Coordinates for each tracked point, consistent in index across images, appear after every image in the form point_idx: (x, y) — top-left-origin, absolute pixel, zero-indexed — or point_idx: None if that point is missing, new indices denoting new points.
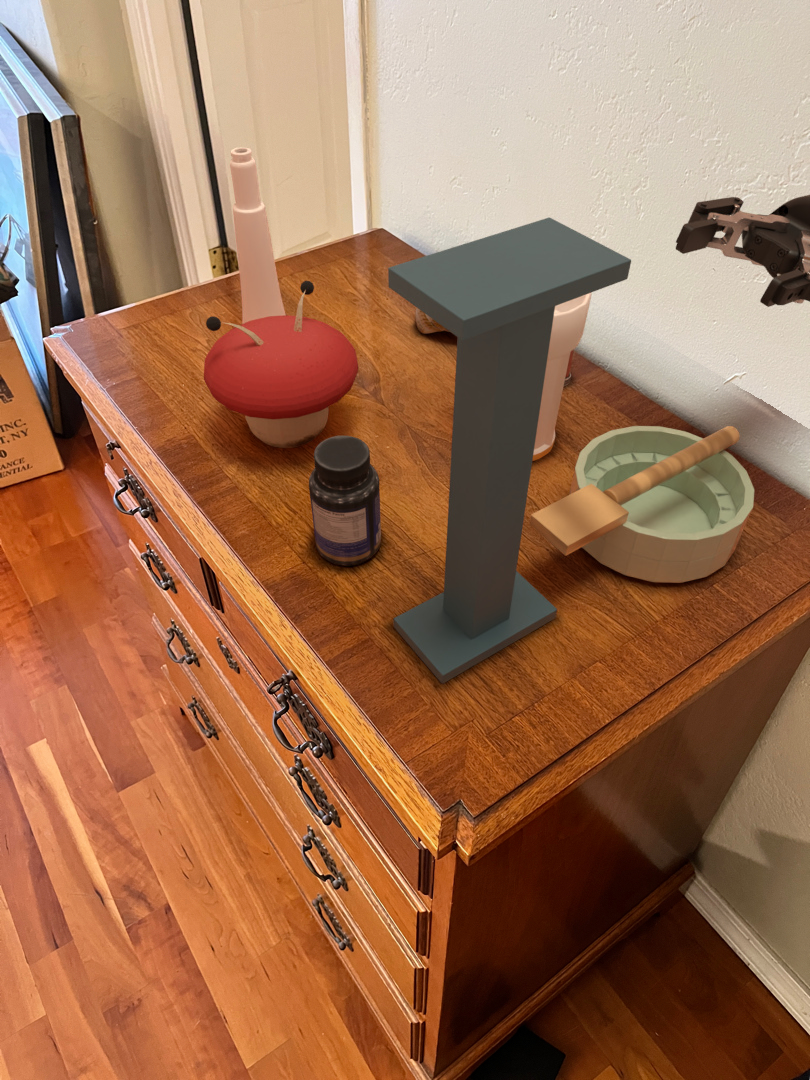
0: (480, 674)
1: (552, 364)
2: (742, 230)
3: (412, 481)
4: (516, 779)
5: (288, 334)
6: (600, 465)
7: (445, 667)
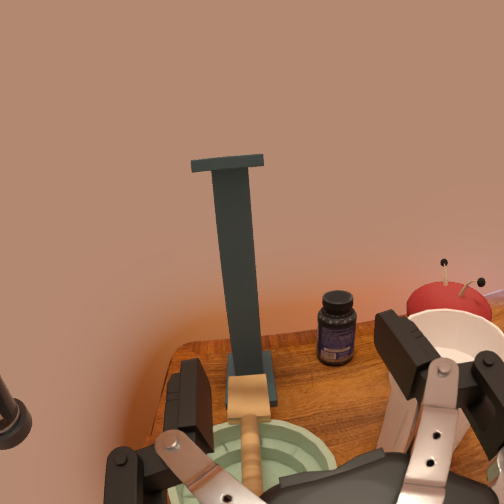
0: (222, 371)
1: (400, 402)
2: (414, 435)
3: (377, 390)
4: (174, 359)
5: (454, 292)
6: None
7: (230, 355)
